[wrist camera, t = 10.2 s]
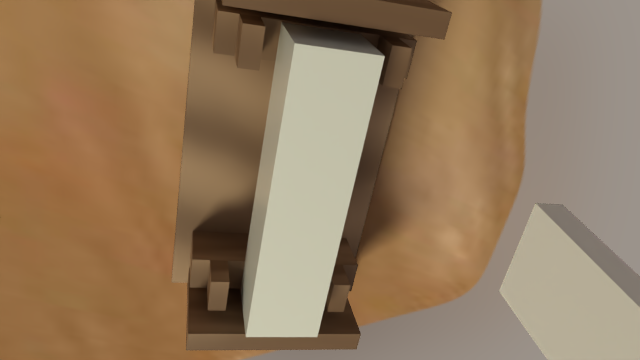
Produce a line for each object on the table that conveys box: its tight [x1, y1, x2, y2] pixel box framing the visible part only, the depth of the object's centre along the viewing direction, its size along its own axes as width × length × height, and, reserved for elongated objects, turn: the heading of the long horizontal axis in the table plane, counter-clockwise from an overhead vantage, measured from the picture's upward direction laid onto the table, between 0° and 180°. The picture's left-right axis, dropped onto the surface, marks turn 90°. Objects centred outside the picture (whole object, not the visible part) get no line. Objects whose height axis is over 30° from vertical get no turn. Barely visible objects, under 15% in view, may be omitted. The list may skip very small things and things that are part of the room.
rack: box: [172, 0, 452, 350], centre depth 31 cm, size 20×12×7 cm, turn 169°
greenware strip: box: [241, 22, 385, 337], centre depth 28 cm, size 16×4×4 cm, turn 169°
